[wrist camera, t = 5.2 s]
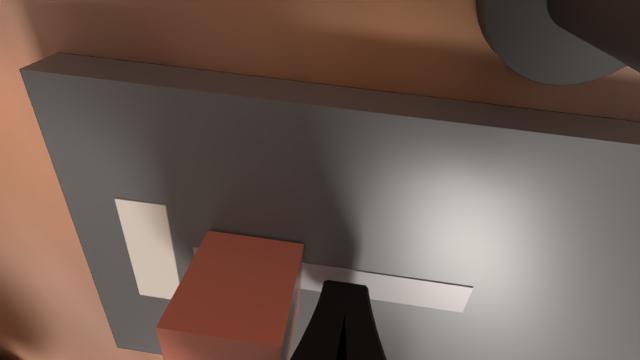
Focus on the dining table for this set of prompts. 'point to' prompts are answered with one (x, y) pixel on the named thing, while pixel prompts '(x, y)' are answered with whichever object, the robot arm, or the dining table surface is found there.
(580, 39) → the post
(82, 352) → the dining table surface
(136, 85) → the breaker panel
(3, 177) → the dining table surface
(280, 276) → the knob
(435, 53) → the dining table surface
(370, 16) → the dining table surface
